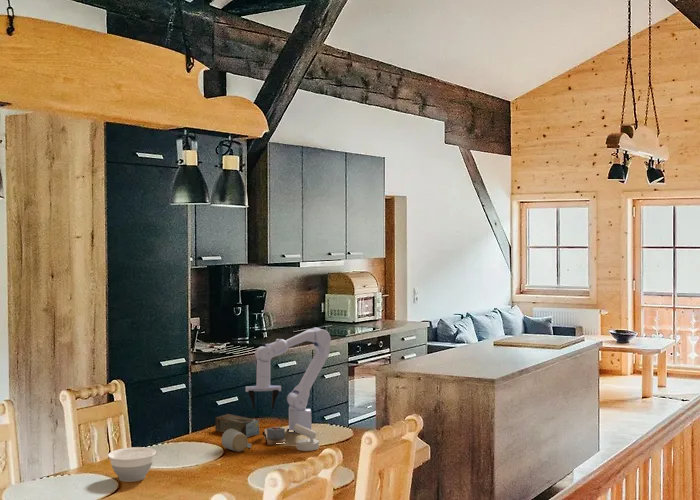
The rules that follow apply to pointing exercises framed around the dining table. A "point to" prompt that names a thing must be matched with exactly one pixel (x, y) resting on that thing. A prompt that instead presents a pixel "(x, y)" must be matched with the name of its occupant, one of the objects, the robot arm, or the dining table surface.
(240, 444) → the ceramic mug
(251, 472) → the dining table surface
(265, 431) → the board
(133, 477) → the bowl
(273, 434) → the open square sleeve
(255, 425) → the beverage carton
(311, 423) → the robot arm
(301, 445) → the white round-based angled piece
